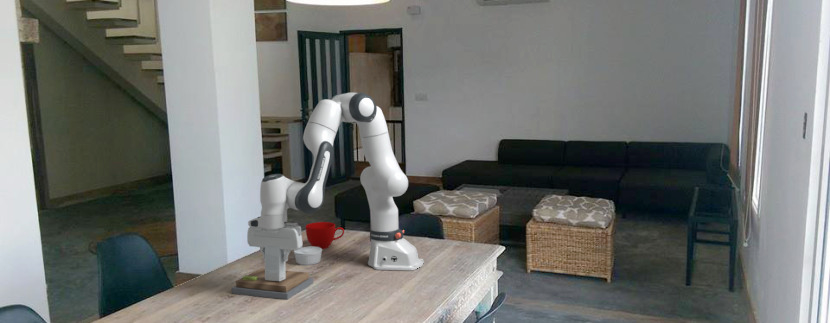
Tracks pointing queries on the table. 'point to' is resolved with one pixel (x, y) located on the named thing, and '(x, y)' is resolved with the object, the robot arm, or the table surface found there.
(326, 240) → the ceramic cup
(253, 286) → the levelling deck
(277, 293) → the grey rectangular slab
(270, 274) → the skincare box
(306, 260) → the ramekin
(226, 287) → the table surface
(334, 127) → the robot arm
